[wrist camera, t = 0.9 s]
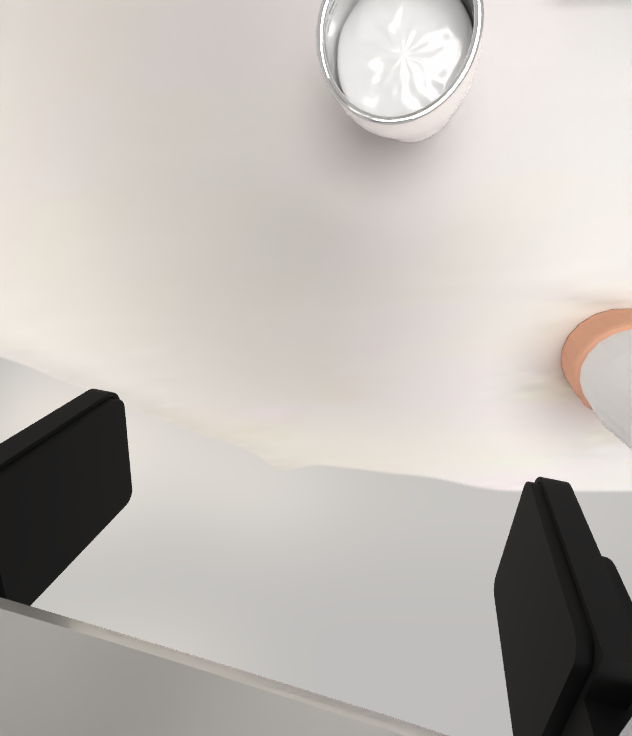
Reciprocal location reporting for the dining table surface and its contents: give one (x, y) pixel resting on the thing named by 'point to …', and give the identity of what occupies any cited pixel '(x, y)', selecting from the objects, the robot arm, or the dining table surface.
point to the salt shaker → (603, 368)
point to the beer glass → (399, 61)
